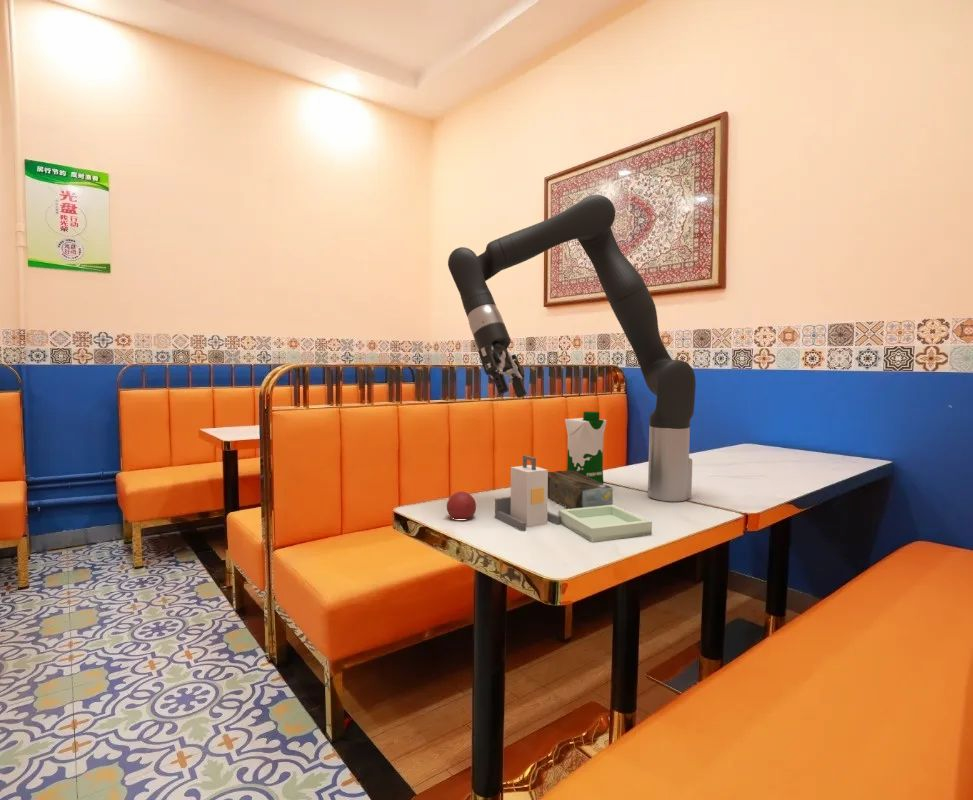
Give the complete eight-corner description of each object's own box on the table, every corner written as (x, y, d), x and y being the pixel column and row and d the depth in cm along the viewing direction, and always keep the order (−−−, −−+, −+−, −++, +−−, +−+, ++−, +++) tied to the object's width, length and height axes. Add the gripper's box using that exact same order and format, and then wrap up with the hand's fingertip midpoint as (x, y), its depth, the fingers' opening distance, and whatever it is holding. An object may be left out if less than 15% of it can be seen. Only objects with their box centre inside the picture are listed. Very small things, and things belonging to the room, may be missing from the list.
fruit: (451, 531, 110) (459, 502, 106) (441, 511, 114) (449, 483, 110) (477, 527, 112) (486, 498, 108) (467, 508, 117) (475, 480, 113)
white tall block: (530, 516, 113) (531, 453, 112) (547, 523, 108) (548, 458, 107) (510, 519, 111) (510, 455, 110) (527, 527, 105) (527, 460, 105)
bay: (531, 511, 117) (531, 493, 116) (560, 523, 108) (560, 504, 107) (494, 517, 112) (495, 498, 112) (522, 530, 103) (522, 510, 103)
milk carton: (583, 493, 133) (584, 413, 132) (560, 486, 141) (560, 410, 139) (609, 489, 138) (610, 412, 137) (584, 482, 146) (585, 409, 144)
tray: (613, 516, 113) (613, 504, 113) (651, 534, 101) (651, 521, 101) (558, 522, 109) (558, 510, 109) (591, 542, 97) (591, 528, 97)
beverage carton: (581, 517, 113) (581, 486, 113) (542, 496, 131) (543, 470, 131) (613, 514, 116) (614, 484, 115) (571, 494, 134) (572, 468, 133)
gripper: (486, 314, 112) (513, 383, 108) (516, 327, 124) (541, 390, 120) (458, 331, 115) (483, 399, 111) (490, 342, 128) (514, 404, 123)
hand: (513, 394), depth 115 cm, fingers open, 8 cm apart
